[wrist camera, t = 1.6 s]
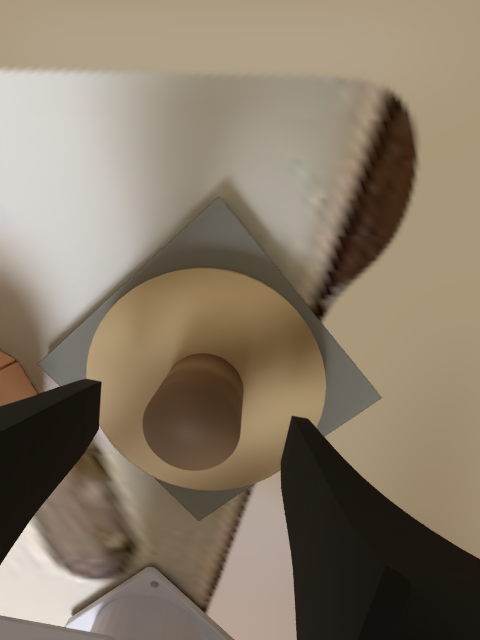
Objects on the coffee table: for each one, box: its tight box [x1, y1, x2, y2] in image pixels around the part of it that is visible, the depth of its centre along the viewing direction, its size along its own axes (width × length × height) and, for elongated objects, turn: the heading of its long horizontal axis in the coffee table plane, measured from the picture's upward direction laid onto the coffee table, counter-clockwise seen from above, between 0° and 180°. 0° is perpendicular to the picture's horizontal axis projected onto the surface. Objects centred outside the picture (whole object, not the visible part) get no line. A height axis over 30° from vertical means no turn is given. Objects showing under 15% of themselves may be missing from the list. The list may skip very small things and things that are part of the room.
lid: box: [86, 267, 326, 491], centre depth 13 cm, size 11×11×4 cm
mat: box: [38, 197, 382, 521], centre depth 15 cm, size 12×12×1 cm
